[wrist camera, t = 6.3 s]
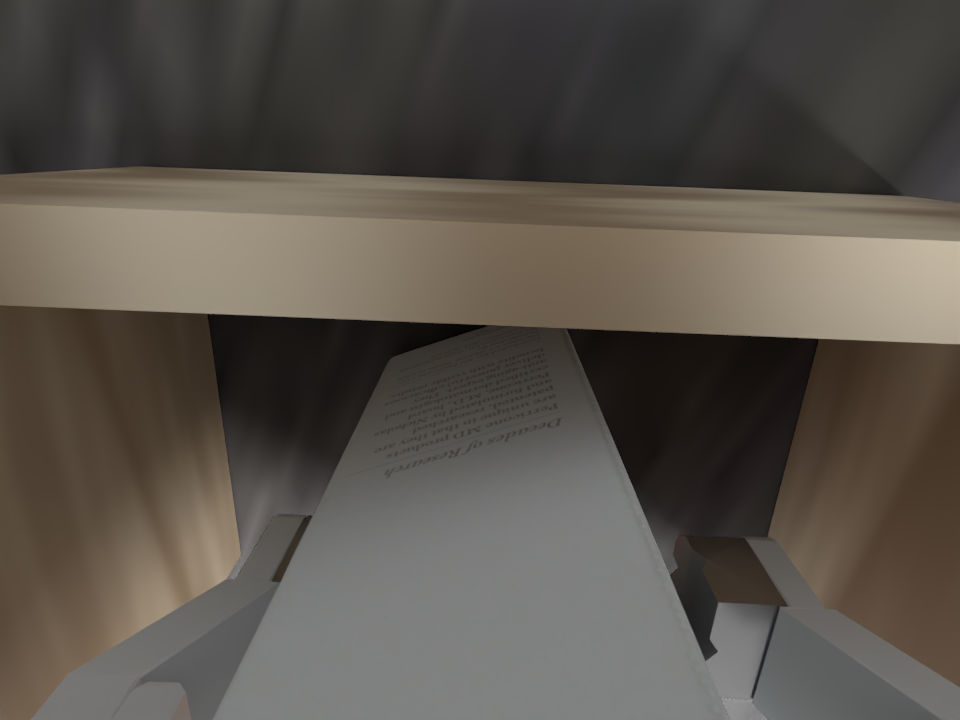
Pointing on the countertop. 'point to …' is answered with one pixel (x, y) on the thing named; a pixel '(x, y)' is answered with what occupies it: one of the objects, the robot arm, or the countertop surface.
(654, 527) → the countertop surface
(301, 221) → the open wooden frame
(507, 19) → the countertop surface
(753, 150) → the countertop surface
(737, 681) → the robot arm
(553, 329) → the skincare box
